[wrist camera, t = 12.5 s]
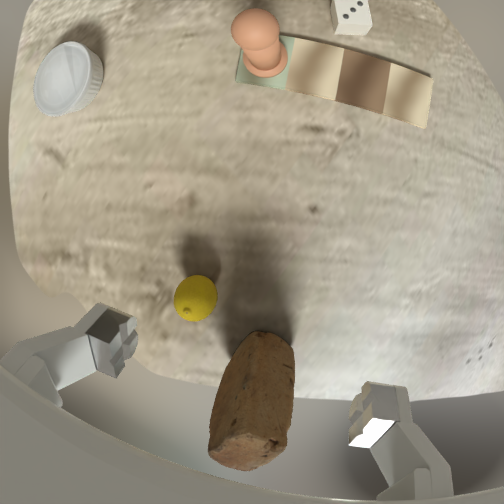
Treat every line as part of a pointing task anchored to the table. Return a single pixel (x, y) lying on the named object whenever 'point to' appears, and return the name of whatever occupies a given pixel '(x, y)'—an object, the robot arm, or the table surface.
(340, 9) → the die
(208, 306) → the lemon
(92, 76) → the ramekin
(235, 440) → the block
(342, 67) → the board
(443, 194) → the table surface
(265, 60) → the round-topped peg
